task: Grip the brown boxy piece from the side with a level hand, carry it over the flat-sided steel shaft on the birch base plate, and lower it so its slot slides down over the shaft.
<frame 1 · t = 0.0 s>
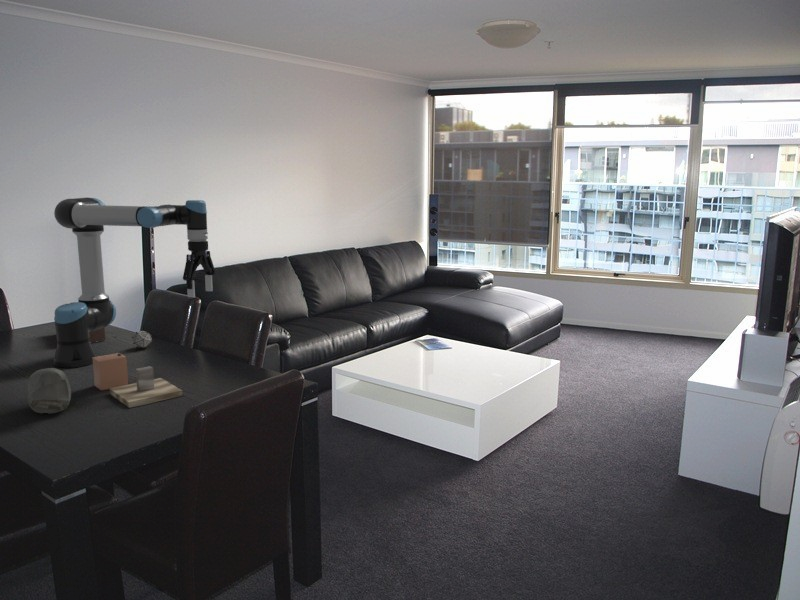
hand: (200, 294, 259), 28 cm above the table, tool pointing down, fingers open, 13 cm apart
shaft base: (146, 394, 225), on the table
brown boxy piece: (111, 385, 235), on the table
game die: (143, 348, 284), on the table
tissue box cover: (81, 338, 301), on the table
decorative stone: (51, 409, 211), on the table
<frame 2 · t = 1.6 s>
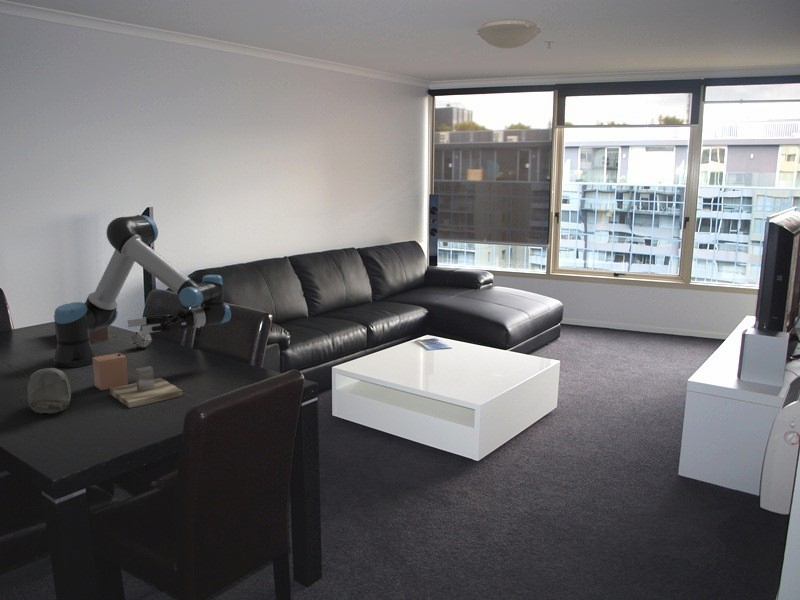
hand: (135, 326, 237), 20 cm above the table, tool horizontal, fingers open, 13 cm apart
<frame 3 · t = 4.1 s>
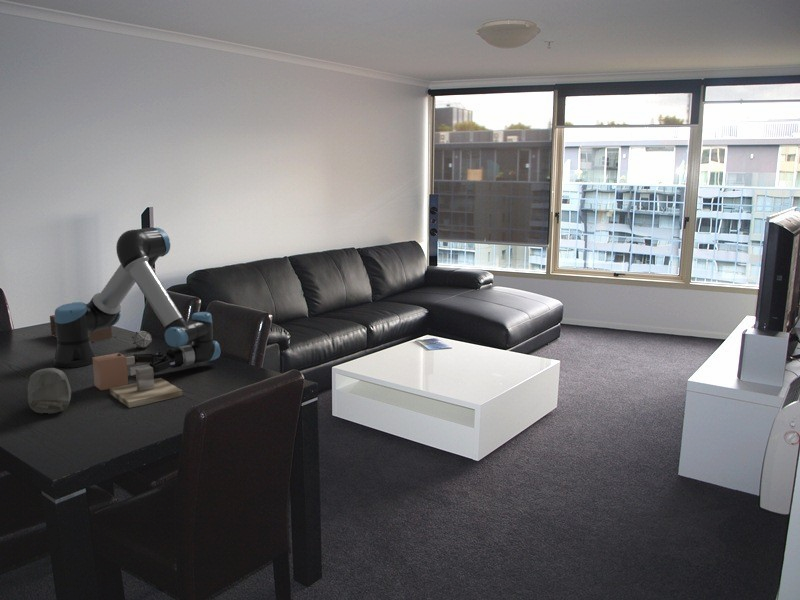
hand: (123, 367, 236), 6 cm above the table, tool horizontal, fingers open, 13 cm apart
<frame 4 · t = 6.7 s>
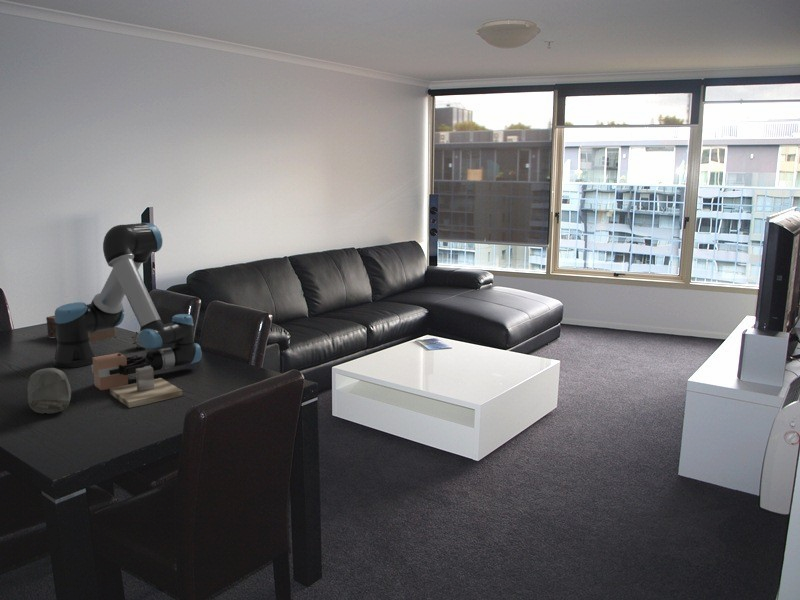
hand: (95, 371, 230), 6 cm above the table, tool horizontal, fingers closed on brown boxy piece, 7 cm apart
brown boxy piece: (111, 385, 235), on the table, touching gripper
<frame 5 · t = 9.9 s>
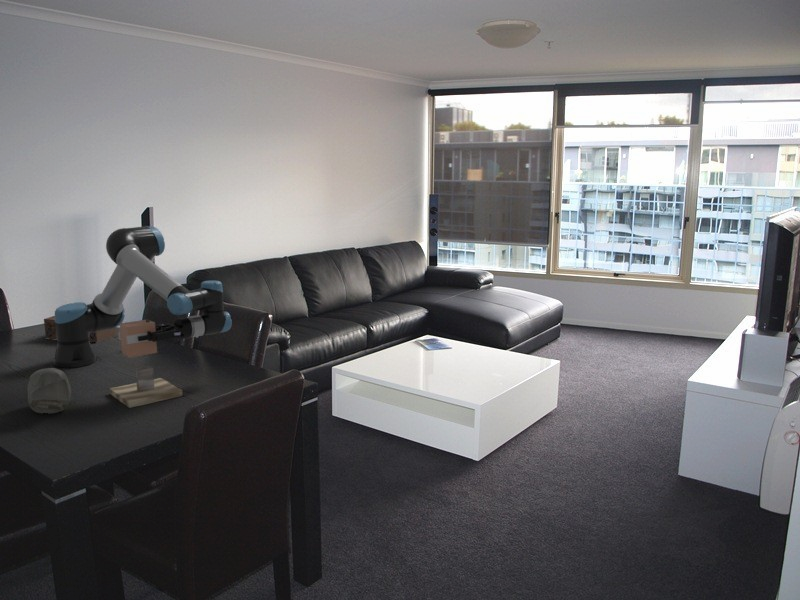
hand: (123, 337, 219), 21 cm above the table, tool horizontal, fingers closed on brown boxy piece, 7 cm apart
brown boxy piece: (139, 353, 224), point 15 cm above the table, touching gripper
when the fingers open (9 cm above the table, at t = 13.5 s): brown boxy piece drops 1 cm, resting on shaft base.
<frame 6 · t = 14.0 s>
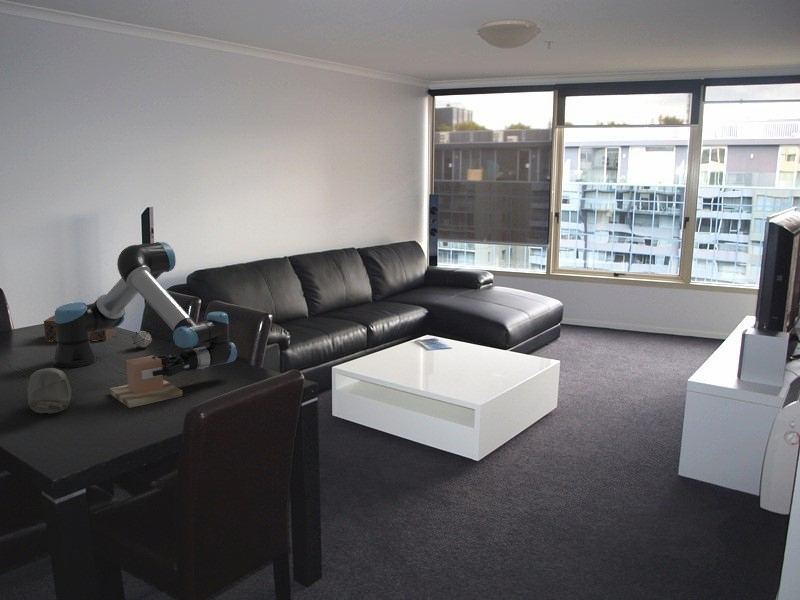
hand: (134, 370, 221), 9 cm above the table, tool horizontal, fingers open, 13 cm apart
brown boxy piece: (145, 389, 225), point 2 cm above the table, touching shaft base
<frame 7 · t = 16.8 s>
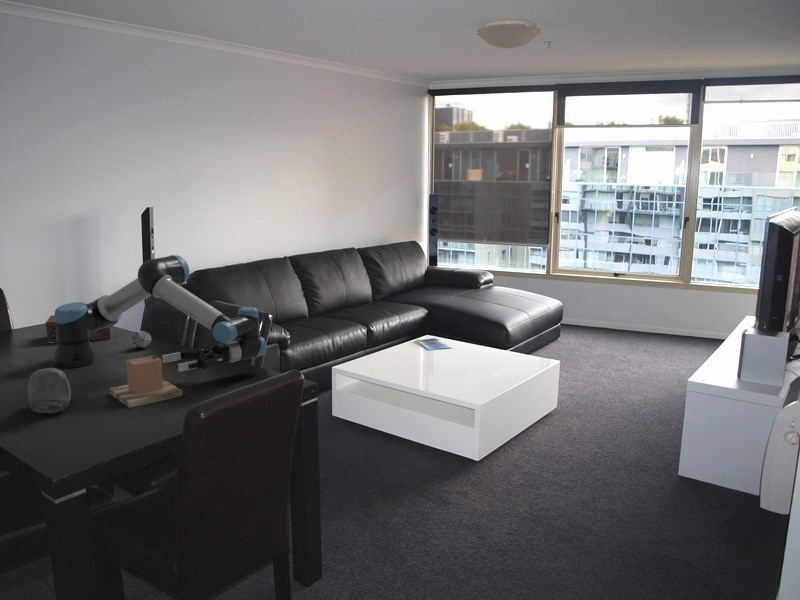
hand: (170, 363, 229), 10 cm above the table, tool horizontal, fingers open, 13 cm apart
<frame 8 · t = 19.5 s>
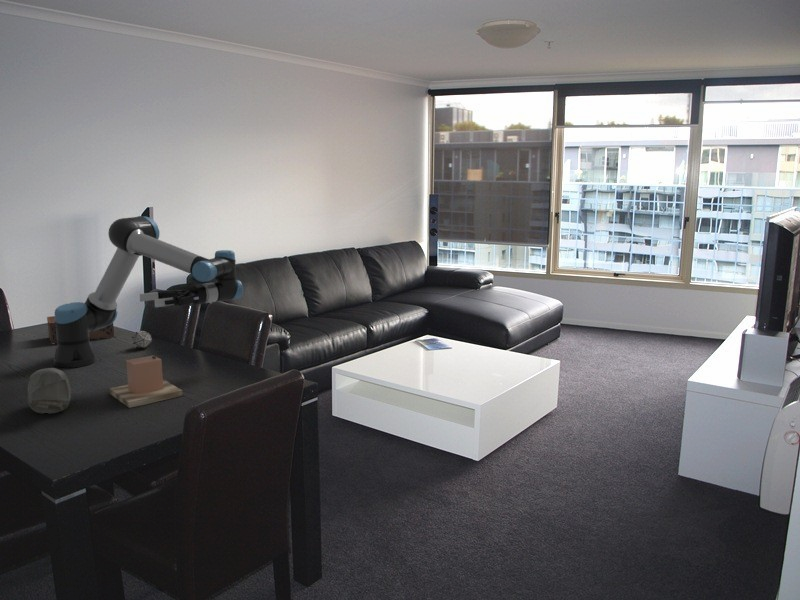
hand: (147, 300, 235), 30 cm above the table, tool horizontal, fingers open, 13 cm apart
at the end: brown boxy piece 0.0 cm off-centre on the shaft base, point 2.0 cm above the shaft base's base; brown boxy piece tilted 0°; the gripper is holding nothing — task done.
